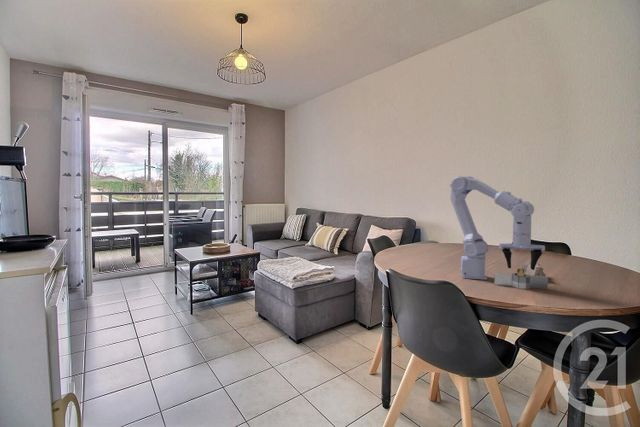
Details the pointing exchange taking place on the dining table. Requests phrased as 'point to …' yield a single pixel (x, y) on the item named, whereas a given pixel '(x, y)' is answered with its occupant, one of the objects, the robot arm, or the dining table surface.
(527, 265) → the mineral specimen
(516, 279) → the hinge
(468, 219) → the robot arm
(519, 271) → the hinge pin
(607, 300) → the dining table surface
